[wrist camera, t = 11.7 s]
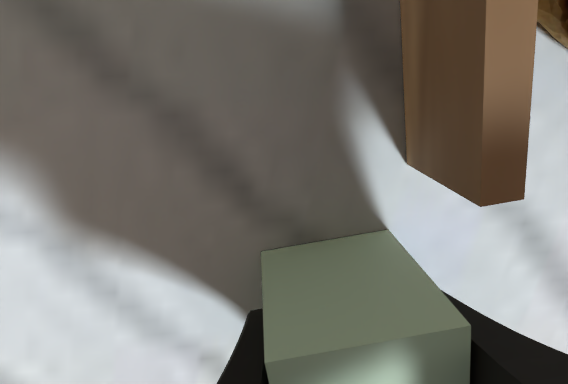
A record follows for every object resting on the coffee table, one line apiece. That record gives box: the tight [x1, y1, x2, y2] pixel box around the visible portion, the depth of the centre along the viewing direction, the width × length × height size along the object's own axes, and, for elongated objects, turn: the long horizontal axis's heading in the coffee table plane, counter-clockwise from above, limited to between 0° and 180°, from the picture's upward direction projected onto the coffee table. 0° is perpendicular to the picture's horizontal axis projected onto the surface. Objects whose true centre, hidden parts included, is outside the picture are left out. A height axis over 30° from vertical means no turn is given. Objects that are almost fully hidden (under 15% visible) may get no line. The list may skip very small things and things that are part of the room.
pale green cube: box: [261, 230, 471, 384], centre depth 11 cm, size 4×4×5 cm
